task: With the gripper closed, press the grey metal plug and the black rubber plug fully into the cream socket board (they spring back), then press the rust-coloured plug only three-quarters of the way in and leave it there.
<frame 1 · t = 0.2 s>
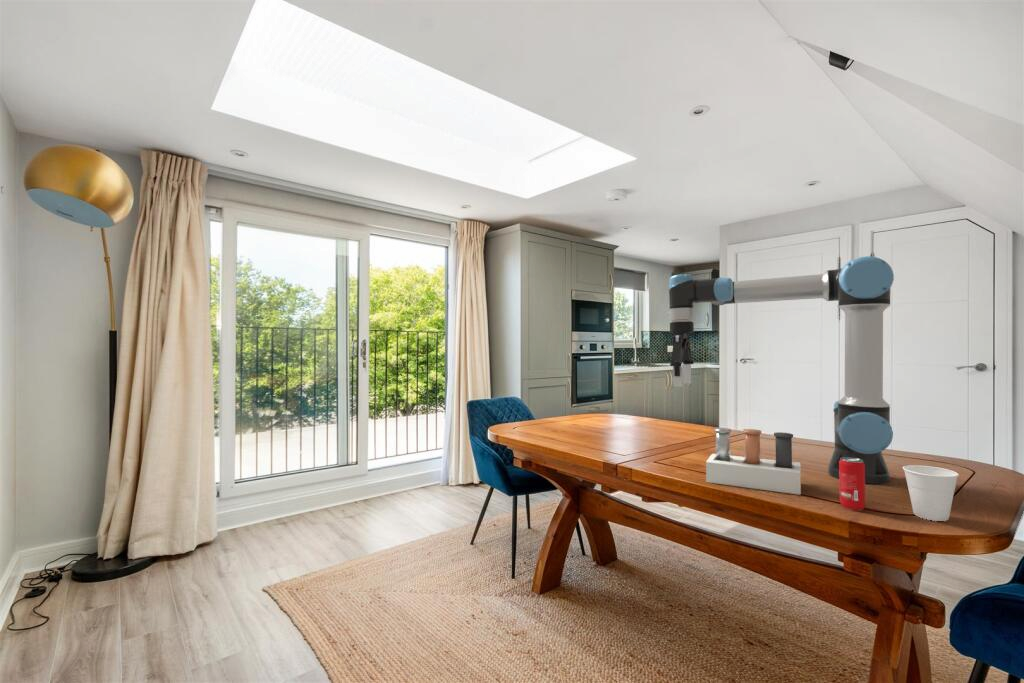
hand: (682, 384, 156), 28 cm above the table, fingers open, 13 cm apart
cup: (930, 518, 110), on the table
socket board: (752, 482, 138), on the table
plug black: (783, 450, 134), point 10 cm above the table, slide at 0.3 cm
beverage can: (852, 508, 117), on the table
plug rust: (752, 446, 138), point 11 cm above the table, slide at 0.0 cm
plug grey: (723, 445, 142), point 10 cm above the table, slide at 0.3 cm
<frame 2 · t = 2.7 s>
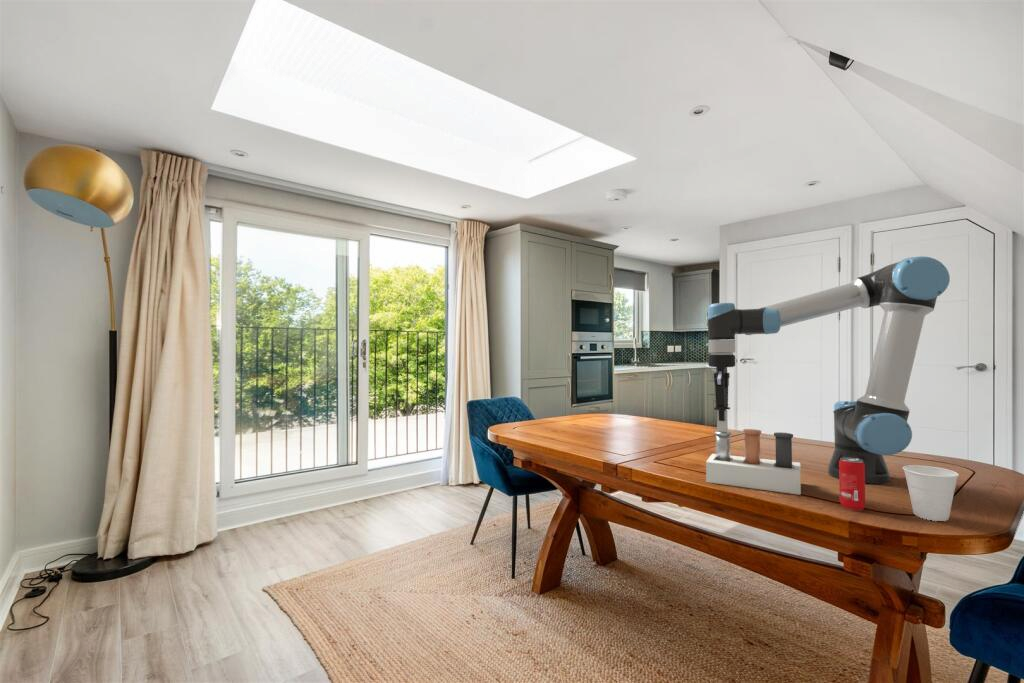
hand: (722, 431, 142), 15 cm above the table, fingers closed
plug grey: (723, 447, 142), point 9 cm above the table, slide at 1.1 cm, touching gripper
everything else where it was.
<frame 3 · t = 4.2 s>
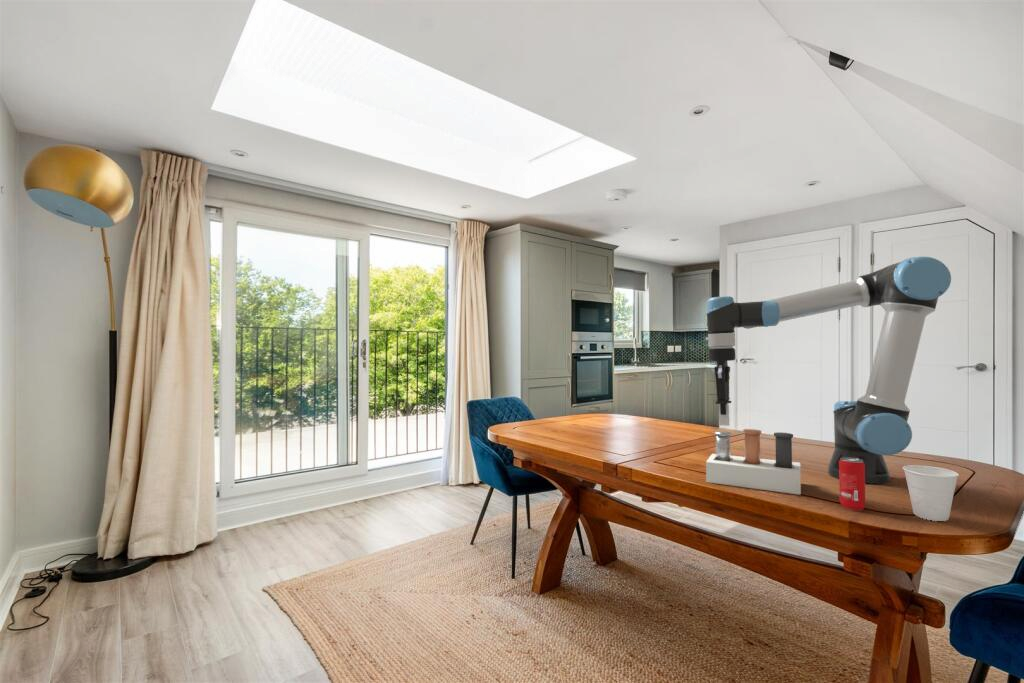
hand: (724, 424, 142), 16 cm above the table, fingers closed
plug grey: (723, 448, 142), point 9 cm above the table, slide at 1.2 cm
everything else where it was.
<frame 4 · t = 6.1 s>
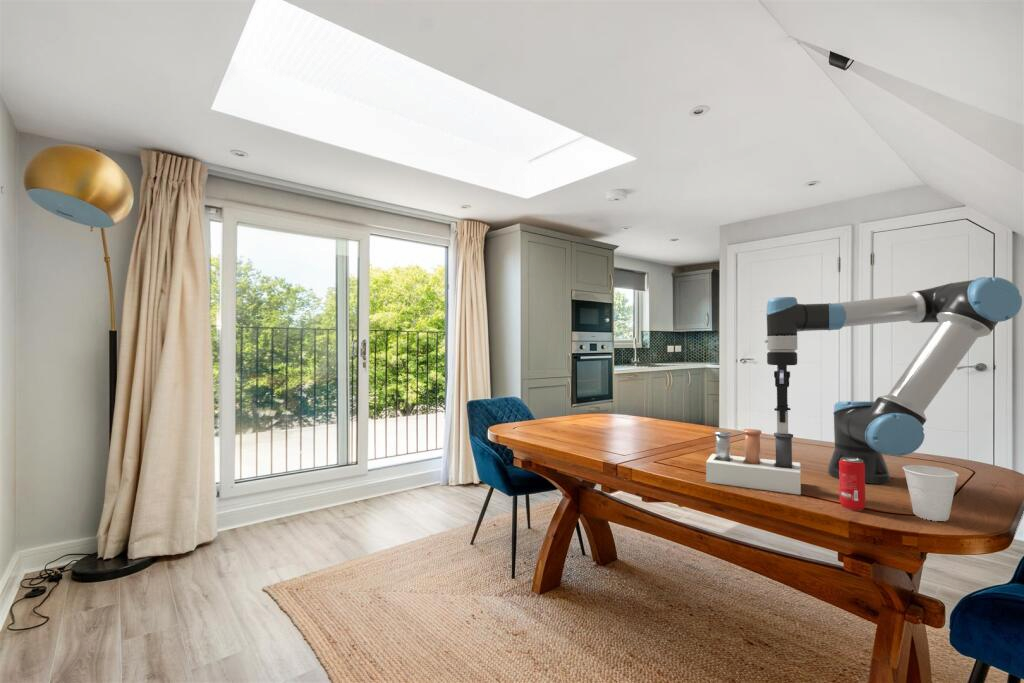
hand: (782, 433, 134), 15 cm above the table, fingers closed
plug black: (783, 450, 134), point 10 cm above the table, slide at 0.3 cm, touching gripper
everything else where it was.
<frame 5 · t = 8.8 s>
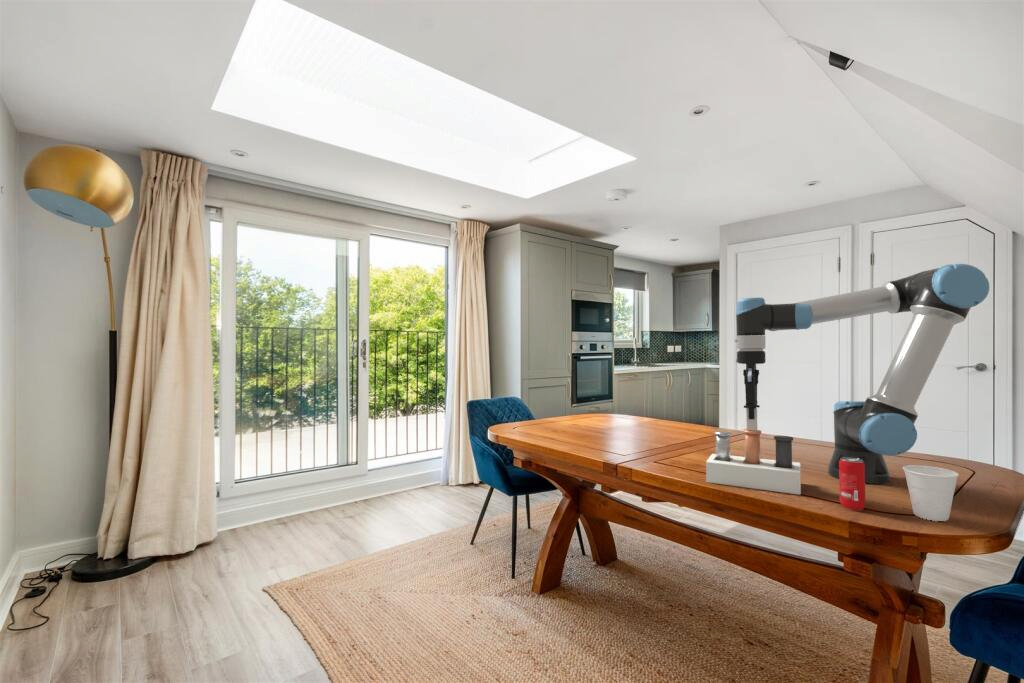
hand: (752, 429, 138), 16 cm above the table, fingers closed
plug black: (783, 454, 134), point 9 cm above the table, slide at 1.2 cm
plug rust: (752, 446, 138), point 11 cm above the table, slide at 0.0 cm, touching gripper
everything else where it was.
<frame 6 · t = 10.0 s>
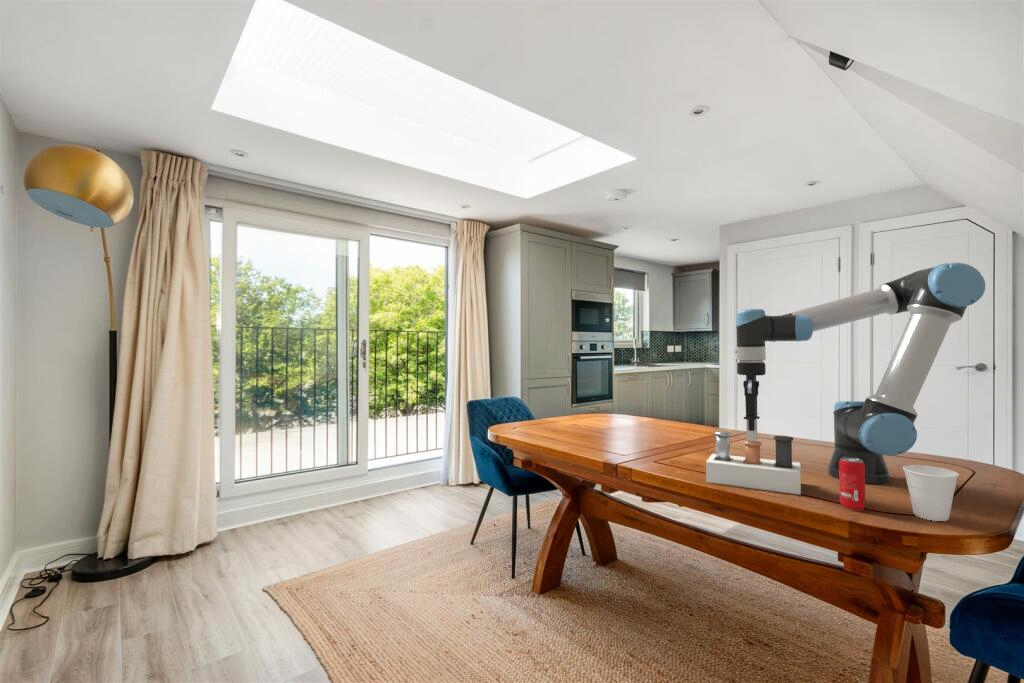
hand: (752, 441, 138), 12 cm above the table, fingers closed
plug rust: (752, 458, 138), point 7 cm above the table, slide at 3.4 cm, touching gripper
everything else where it was.
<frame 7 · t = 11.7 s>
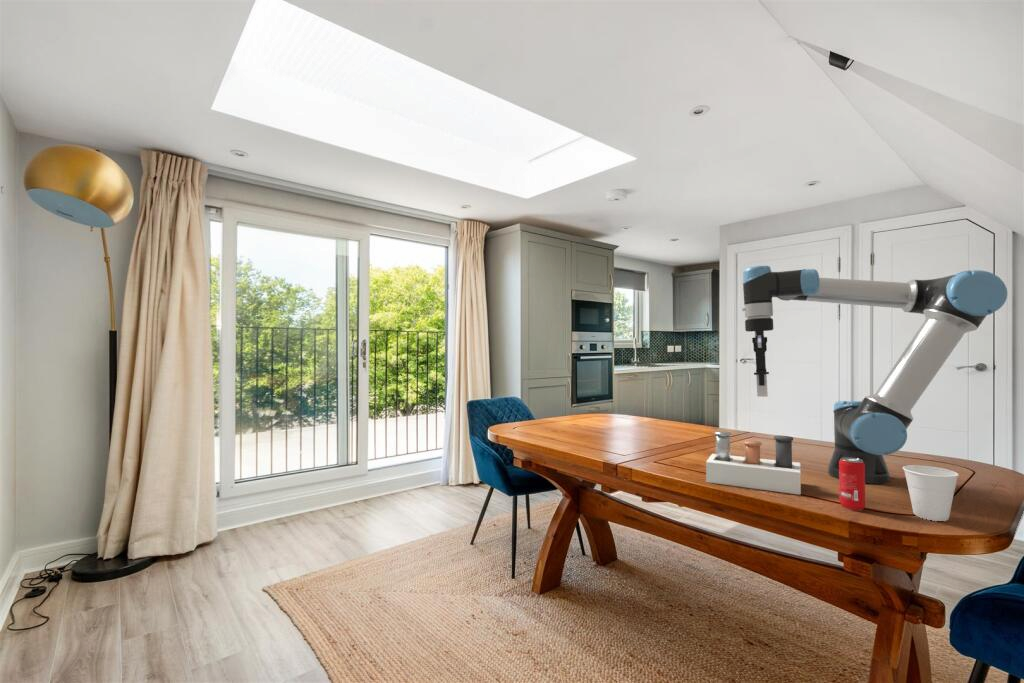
hand: (762, 396, 141), 25 cm above the table, fingers closed
plug rust: (752, 458, 138), point 7 cm above the table, slide at 3.4 cm
everything else where it was.
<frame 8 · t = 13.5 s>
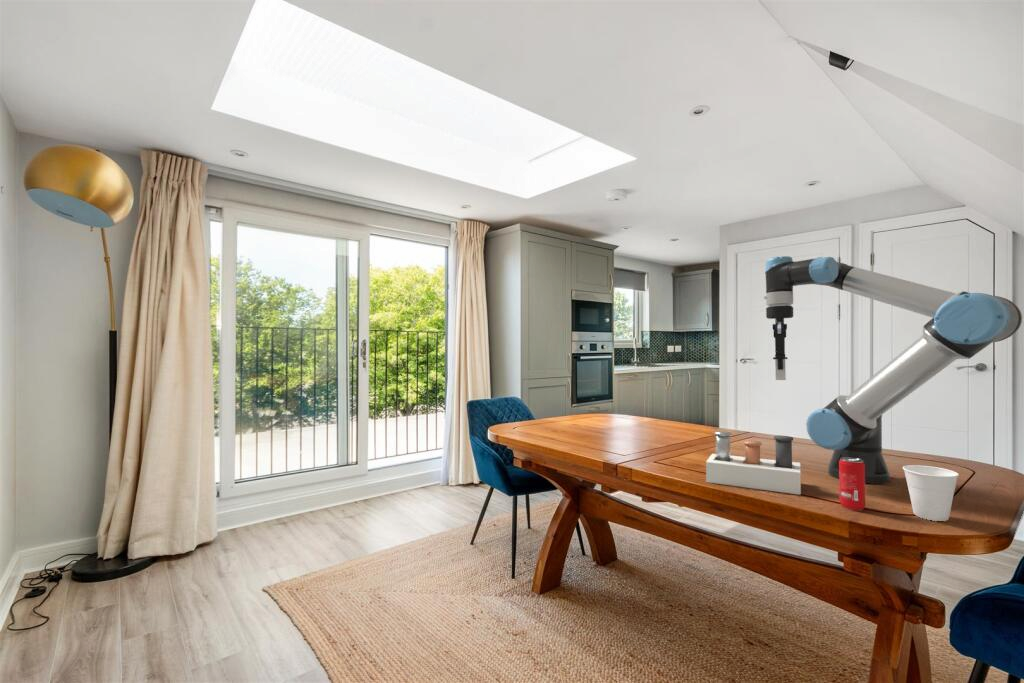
hand: (780, 379, 149), 29 cm above the table, fingers closed
nothing on the table moved.
at the end: plug rust slide at 3.4 cm; plug grey slide at 1.2 cm; plug black slide at 1.2 cm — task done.
